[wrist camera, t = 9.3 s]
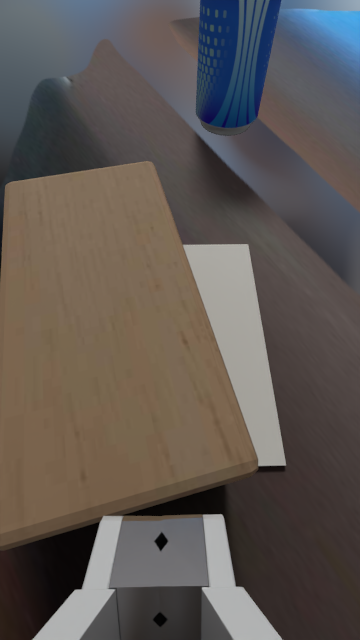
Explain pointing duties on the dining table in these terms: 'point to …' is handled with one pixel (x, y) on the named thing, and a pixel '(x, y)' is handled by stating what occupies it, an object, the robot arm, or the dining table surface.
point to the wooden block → (105, 358)
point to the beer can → (233, 61)
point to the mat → (240, 339)
